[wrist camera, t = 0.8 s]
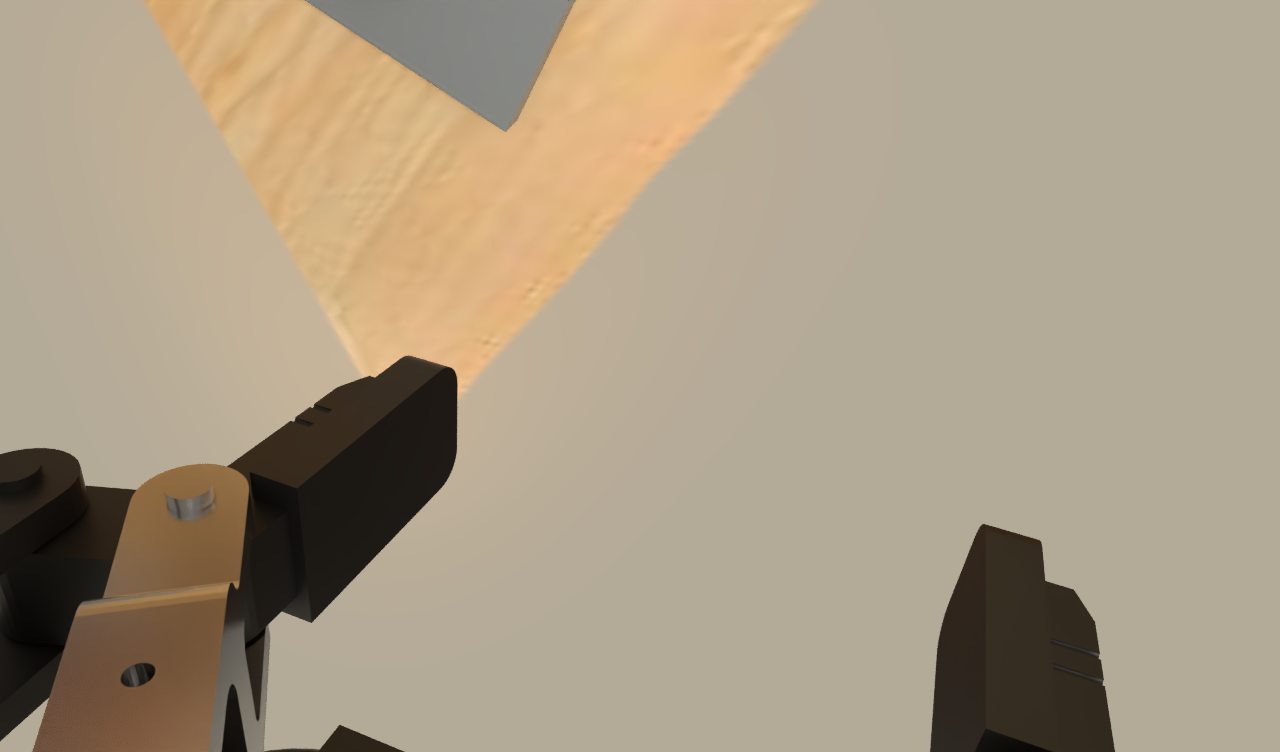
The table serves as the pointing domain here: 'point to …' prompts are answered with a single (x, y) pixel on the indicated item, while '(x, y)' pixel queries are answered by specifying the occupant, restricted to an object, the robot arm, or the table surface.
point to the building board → (463, 44)
